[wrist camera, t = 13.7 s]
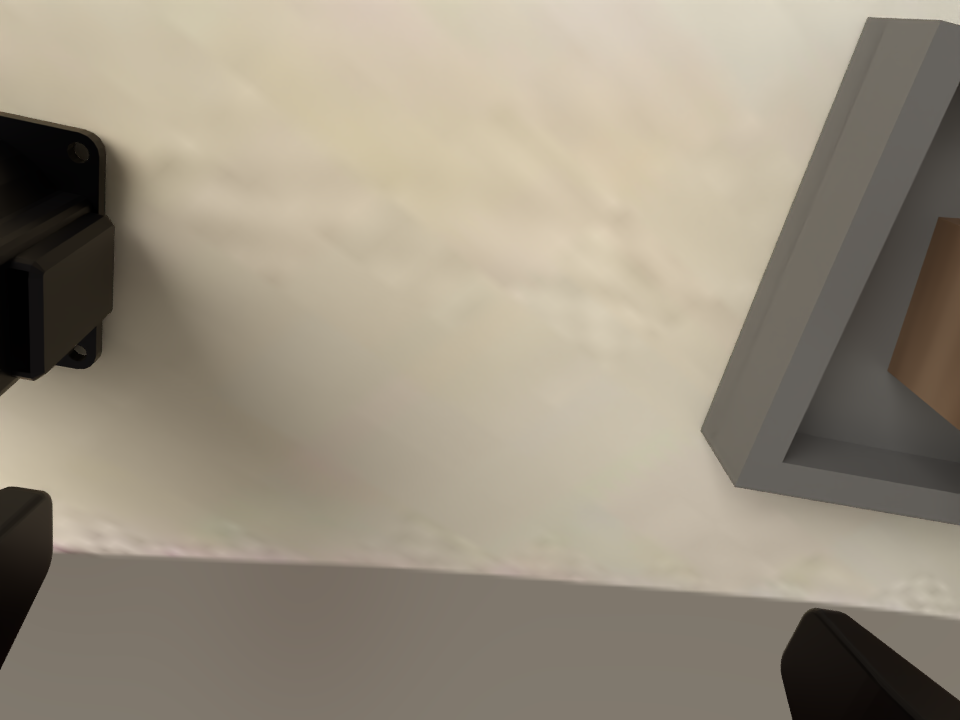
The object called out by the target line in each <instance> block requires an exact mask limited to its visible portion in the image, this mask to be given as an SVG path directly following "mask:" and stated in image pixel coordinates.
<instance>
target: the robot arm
mask: <svg viewBox="0 0 960 720" xmlns="http://www.w3.org/2000/svg"><path fill="white" fill-rule="evenodd" d="M76 142H79V143H81V144H83V145H84V146H85V147H86V148H87V149H88V152H89V158H88V160H83V159H81V158H79V157H78V155H77V154H76V153H75V149H74V146H75V143H76ZM105 177H106V152H105V146H104V145H103V143H102V141H101V140H100V138H99V137H97V136H96V135H95V134H94V133H92V132H90V131H87V130H84V129H80V128H75V127H70V126H66V125H61V124H56V123H52V122H47V121H42V120H38V119H33V118H28V117H24V116H19V115H14V114H10V113H5V112H0V396H1V395H2V394H3V393H4V392H6V391H7V390H8V389H9V388H10V387H11V386H12V385H13V384H14V383H16V382H17V381H18V380H19V379H20V378H21V379H27V380H32V381H35V380H37V379H39V378H40V377H41V376H43V375H44V374H46V373H47V372H48V371H49V370H50V369H51V368H53V367H54V366H55V365H57V366H63V367H69V368H75V369H85V368H88V367H90V366H91V365H92V364H93V363H94V362H95V361H96V360H97V359H98V358H99V357H100V355H101V352H102V321H103V319H104V318H105V317H106V316H107V315H108V314H109V313H111V311H112V307H113V269H114V232H115V227H114V224H113V223H112V222H111V220H110V219H109V217H108V216H106V215H105ZM76 345H80V346H82V347H83V348H84V349H85V350H86V353H87V355H82V354H79V353H78V352H77V351H76V350H75V349H74V347H75V346H76ZM52 554H53V510H52V500H51V497H50V495H49V494H48V493H46V492H45V491H41V490H34V489H27V488H21V487H6V488H4V489H1V490H0V669H1V667H2V665H3V663H4V661H5V659H6V657H7V655H8V653H9V651H10V649H11V647H12V644H13V643H14V640H15V638H16V636H17V634H18V632H19V630H20V628H21V626H22V624H23V622H24V620H25V618H26V616H27V614H28V612H29V610H30V607H31V605H32V603H33V601H34V599H35V597H36V595H37V593H38V591H39V589H40V587H41V585H42V583H43V581H44V579H45V577H46V575H47V572H48V569H49V567H50V564H51V559H52ZM781 675H782V680H783V684H784V687H785V692H786V696H787V700H788V704H789V708H790V712H791V715H792V720H960V701H959V700H958V699H957V698H955V697H954V696H953V695H951V694H950V693H949V692H947V691H946V690H945V689H944V688H942V687H941V686H940V685H938V684H937V683H936V682H934V681H933V680H932V679H930V678H929V677H928V676H927V675H925V674H924V673H923V672H921V671H920V670H919V669H917V668H916V667H915V666H913V665H912V664H911V663H909V662H908V661H907V660H906V659H904V658H903V657H901V656H900V655H899V654H898V653H896V652H895V651H894V650H892V649H891V648H889V647H888V646H887V645H886V644H885V643H883V642H882V641H881V640H879V639H878V638H877V637H875V636H874V635H873V634H871V633H870V632H869V631H868V630H866V629H865V628H863V627H862V626H861V625H859V624H858V623H857V622H856V621H854V620H853V619H852V618H850V617H849V616H848V615H846V614H844V613H842V612H839V611H833V610H826V609H820V608H813V609H810V610H808V611H807V612H806V613H805V614H804V615H803V617H802V619H801V620H800V622H799V624H798V626H797V628H796V630H795V632H794V634H793V636H792V637H791V639H790V641H789V643H788V645H787V647H786V649H785V650H784V653H783V655H782V659H781Z"/></svg>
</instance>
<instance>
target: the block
mask: <svg viewBox="0 0 960 720" xmlns="http://www.w3.org/2000/svg"><path fill="white" fill-rule="evenodd" d="M887 371H888V372H889V373H890V374H892V375H893V376H894V377H895V378H897V379H898V380H899V381H900V382H901V383H903V384H904V385H905V386H906V387H907V388H909V389H910V390H911V391H912V392H913V393H915V394H916V395H917V396H918V397H919V398H921V399H922V400H923V401H924V402H926V403H927V404H928V405H929V406H930V407H932V408H933V409H934V410H935V411H936V412H938V413H939V414H940V415H941V416H942V417H944V418H945V419H946V420H947V421H948V422H950V423H951V424H952V425H953V426H955V427H956V428H957V429H958V430H959V431H960V218H947V217H938V220H937V223H936V226H935V229H934V232H933V235H932V238H931V241H930V244H929V247H928V250H927V253H926V256H925V259H924V262H923V265H922V268H921V271H920V274H919V277H918V280H917V283H916V286H915V289H914V292H913V295H912V298H911V301H910V304H909V307H908V310H907V313H906V316H905V319H904V322H903V325H902V328H901V331H900V334H899V337H898V340H897V343H896V346H895V349H894V352H893V355H892V358H891V361H890V364H889V367H888V370H887Z"/></svg>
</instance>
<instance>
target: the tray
mask: <svg viewBox="0 0 960 720" xmlns="http://www.w3.org/2000/svg"><path fill="white" fill-rule="evenodd" d="M938 217H947V218H960V25H956V24H953V23H949V22H946V21H942V20H922V19H897V18H872V17H868V18H867V21H866V23H865V26H864V28H863V31H862V33H861V36H860V38H859V41H858V43H857V46H856V48H855V51H854V53H853V55H852V58H851V60H850V63H849V65H848V68H847V70H846V73H845V75H844V78H843V80H842V83H841V85H840V88H839V90H838V93H837V95H836V98H835V100H834V102H833V105H832V107H831V110H830V112H829V115H828V117H827V120H826V122H825V125H824V127H823V130H822V132H821V135H820V137H819V140H818V142H817V144H816V147H815V149H814V152H813V154H812V157H811V159H810V162H809V164H808V167H807V169H806V172H805V174H804V177H803V179H802V182H801V184H800V186H799V189H798V191H797V194H796V196H795V199H794V201H793V204H792V206H791V209H790V211H789V214H788V216H787V219H786V221H785V224H784V226H783V228H782V231H781V233H780V236H779V238H778V241H777V243H776V246H775V248H774V251H773V253H772V256H771V258H770V261H769V263H768V266H767V268H766V270H765V273H764V275H763V278H762V280H761V283H760V285H759V288H758V290H757V293H756V295H755V298H754V300H753V303H752V305H751V308H750V310H749V313H748V315H747V317H746V320H745V322H744V325H743V327H742V330H741V332H740V335H739V337H738V340H737V342H736V345H735V347H734V350H733V352H732V355H731V357H730V359H729V362H728V364H727V367H726V369H725V372H724V374H723V377H722V379H721V382H720V384H719V387H718V389H717V392H716V394H715V397H714V399H713V401H712V404H711V406H710V409H709V411H708V414H707V416H706V419H705V421H704V424H703V426H702V429H701V432H702V434H703V435H704V437H705V439H706V440H707V442H708V444H709V445H710V447H711V449H712V450H713V452H714V454H715V455H716V457H717V458H718V460H719V462H720V463H721V465H722V467H723V468H724V470H725V472H726V473H727V475H728V477H729V478H730V480H731V482H732V483H733V485H734V487H739V488H745V489H751V490H757V491H762V492H768V493H774V494H780V495H786V496H792V497H797V498H803V499H809V500H815V501H821V502H827V503H833V504H838V505H844V506H850V507H856V508H862V509H868V510H874V511H879V512H885V513H891V514H897V515H903V516H909V517H914V518H920V519H926V520H932V521H938V522H944V523H950V524H955V525H960V431H959V430H958V429H957V428H956V427H955V426H953V425H952V424H951V423H950V422H948V421H947V420H946V419H945V418H944V417H942V416H941V415H940V414H939V413H938V412H936V411H935V410H934V409H933V408H932V407H930V406H929V405H928V404H927V403H926V402H924V401H923V400H922V399H921V398H919V397H918V396H917V395H916V394H915V393H913V392H912V391H911V390H910V389H909V388H907V387H906V386H905V385H904V384H903V383H901V382H900V381H899V380H898V379H897V378H895V377H894V376H893V375H892V374H890V373H889V372H888V371H887V370H888V367H889V364H890V361H891V358H892V355H893V352H894V349H895V346H896V343H897V340H898V337H899V334H900V331H901V328H902V325H903V322H904V319H905V316H906V313H907V310H908V307H909V304H910V301H911V298H912V295H913V292H914V289H915V286H916V283H917V280H918V277H919V274H920V271H921V268H922V265H923V262H924V259H925V256H926V253H927V250H928V247H929V244H930V241H931V238H932V235H933V232H934V229H935V226H936V223H937V220H938Z"/></svg>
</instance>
